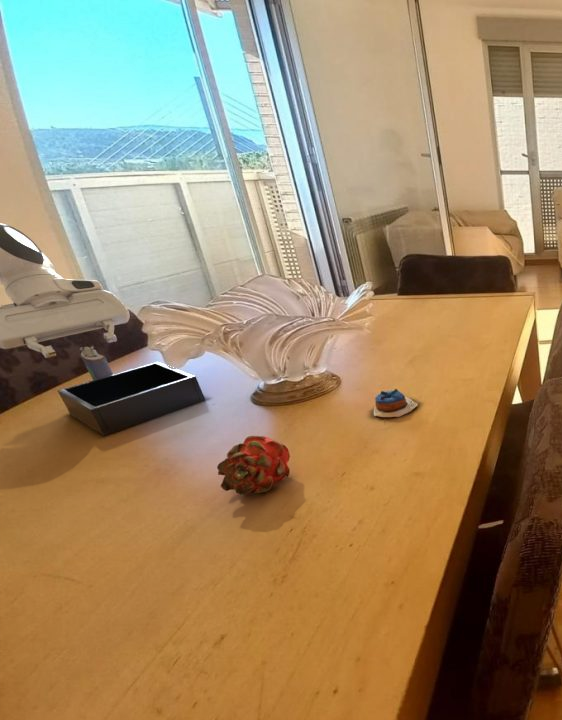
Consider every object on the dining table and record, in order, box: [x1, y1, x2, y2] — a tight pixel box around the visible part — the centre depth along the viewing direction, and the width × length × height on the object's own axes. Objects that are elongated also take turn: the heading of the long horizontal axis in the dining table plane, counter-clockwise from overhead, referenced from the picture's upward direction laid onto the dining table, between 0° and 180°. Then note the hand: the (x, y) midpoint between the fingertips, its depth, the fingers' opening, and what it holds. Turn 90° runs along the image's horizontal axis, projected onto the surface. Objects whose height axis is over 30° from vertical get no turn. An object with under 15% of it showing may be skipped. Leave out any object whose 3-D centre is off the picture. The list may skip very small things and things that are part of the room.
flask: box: [79, 345, 114, 380], centre depth 101 cm, size 9×3×11 cm, turn 57°
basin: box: [57, 361, 206, 437], centre depth 95 cm, size 16×18×6 cm
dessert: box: [373, 388, 419, 418], centre depth 93 cm, size 8×7×6 cm
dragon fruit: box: [216, 435, 291, 495], centre depth 71 cm, size 8×8×12 cm
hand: (83, 347), depth 101 cm, fingers open, 8 cm apart
